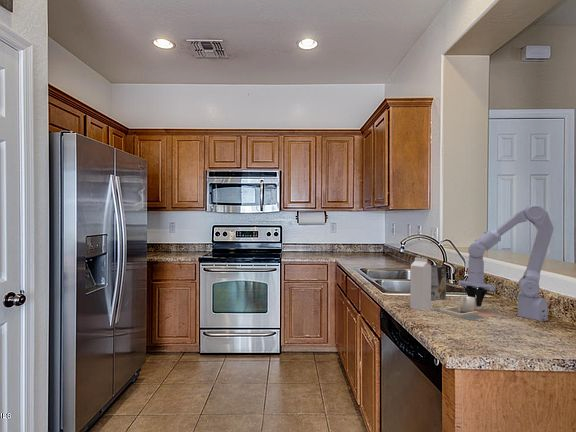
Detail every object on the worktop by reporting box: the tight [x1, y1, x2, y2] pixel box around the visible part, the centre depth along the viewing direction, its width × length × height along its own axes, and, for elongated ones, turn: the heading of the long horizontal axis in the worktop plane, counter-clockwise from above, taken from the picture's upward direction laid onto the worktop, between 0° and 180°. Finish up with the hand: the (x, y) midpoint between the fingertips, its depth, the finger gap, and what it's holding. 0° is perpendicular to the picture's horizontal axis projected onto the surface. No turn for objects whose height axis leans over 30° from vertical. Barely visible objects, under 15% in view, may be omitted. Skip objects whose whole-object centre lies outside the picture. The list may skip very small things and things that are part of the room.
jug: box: [459, 295, 479, 312], centre depth 157 cm, size 10×5×6 cm, turn 124°
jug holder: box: [432, 304, 502, 321], centre depth 156 cm, size 18×19×2 cm
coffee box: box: [430, 264, 447, 302], centre depth 184 cm, size 9×6×16 cm
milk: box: [409, 257, 432, 312], centre depth 163 cm, size 6×6×22 cm
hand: (475, 305), depth 159 cm, fingers closed on jug, 2 cm apart
